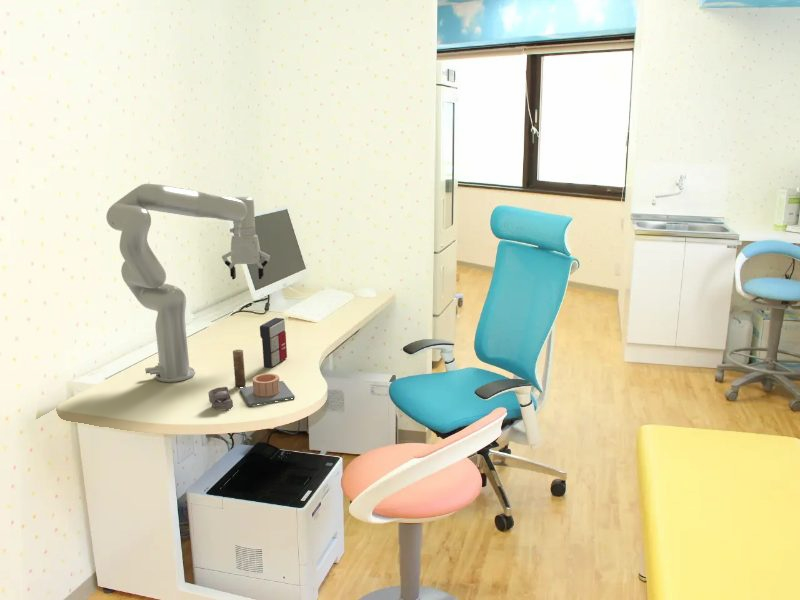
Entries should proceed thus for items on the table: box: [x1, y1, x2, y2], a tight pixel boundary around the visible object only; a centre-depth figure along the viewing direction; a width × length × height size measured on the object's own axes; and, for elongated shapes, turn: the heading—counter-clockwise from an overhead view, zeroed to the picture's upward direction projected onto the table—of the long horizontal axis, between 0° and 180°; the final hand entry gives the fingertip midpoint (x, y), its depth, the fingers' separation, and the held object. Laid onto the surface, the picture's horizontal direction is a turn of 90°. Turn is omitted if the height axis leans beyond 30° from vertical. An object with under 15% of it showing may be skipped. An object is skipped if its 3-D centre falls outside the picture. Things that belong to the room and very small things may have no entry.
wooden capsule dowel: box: [232, 349, 246, 389], centre depth 229 cm, size 3×3×12 cm
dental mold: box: [207, 386, 234, 411], centre depth 214 cm, size 8×7×5 cm
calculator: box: [259, 317, 288, 369], centre depth 250 cm, size 11×4×15 cm, turn 160°
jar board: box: [239, 372, 296, 407], centre depth 222 cm, size 14×14×6 cm
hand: (247, 278), depth 258 cm, fingers open, 9 cm apart
